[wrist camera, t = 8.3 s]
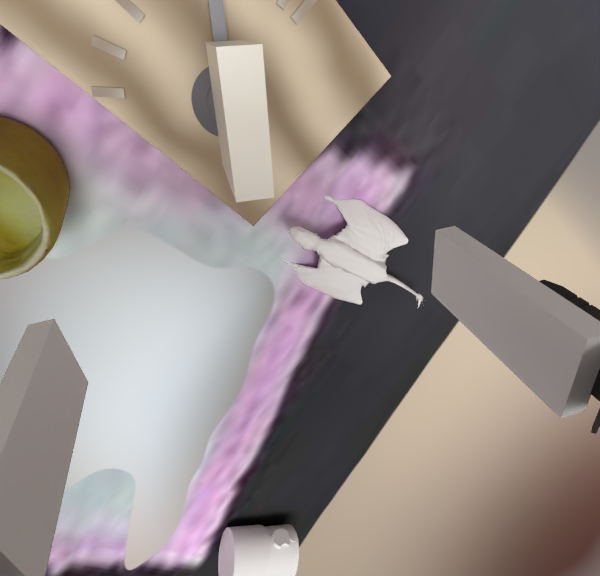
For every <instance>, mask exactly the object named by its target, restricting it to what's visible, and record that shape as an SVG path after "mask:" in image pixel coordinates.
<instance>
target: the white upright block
mask: <svg viewBox="0 0 600 576" xmlns="http://www.w3.org/2000/svg"><path fill="white" fill-rule="evenodd" d="M208 5H209V13H210V20H211V28H212V35H213V42H205V44H206V51H207V58H208V65H209V66H208V67H207V68H205V69H204V70H203V71H202V72H201V73H200V74H199V75H198V77H197V78H196V80H195V82H194V85H193V88H192V95H191V100H192V106H193V110H194V113H195V116H196V118H197V120H198V121H199V123H200V124H201V125H202V126H203V127H204V128H205V129H206V130H207V131H208V132H210V133H211V134H213V135H215V136H218V137H219V143H220V150H221V157H222V164H223V167H224V170H225V173H226V176H227V178H228V181H229V184H230V187H231V189H232V192H233V195H234V198H235V201H236V202H244V201H251V200H259V199H267V198H274V185H273V172H272V159H271V147H270V134H269V121H268V109H267V96H266V83H265V70H264V58H263V45H262V44H259V43H253V42H248V41H242V40H236V41H228V40H227V31H226V23H225V14H224V6H223V0H208Z"/></svg>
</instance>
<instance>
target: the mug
mask: <svg viewBox="0 0 600 576" xmlns="http://www.w3.org/2000/svg"><path fill="white" fill-rule="evenodd" d="M69 191H70V187H69V179H68V174H67V171H66V168H65V166H64V164H63V162H62V160H61V158H60V156H59V155H58V153H57V152H56V150H55V149H54V148H53V147H52V145H51V144H50V143H49V142H48V141H47V140H46V139H45V138H43V137H42V136H41V135H40V134H39V133H37V132H36V131H34V130H33V129H31V128H29V127H28V126H26V125H24V124H22V123H20V122H18V121H15V120H12V119H9V118H5V117H2V116H0V279H6V278H11V277H14V276H18V275H20V274H23V273H25V272H27V271H29V270H31V269H32V268H33V267H34V266H36V265H37V264H38V263H40V262H41V261H42V260H43V259H44V258H45V257H46V255H47V254H48V253H49V252H50V250H51V249H52V248H53V246H54V244H55V242H56V240H57V238H58V235H59V233H60V230H61V226H62V222H63V219H64V215H65V211H66V207H67V203H68V198H69Z"/></svg>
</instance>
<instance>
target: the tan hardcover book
mask: <svg viewBox="0 0 600 576" xmlns="http://www.w3.org/2000/svg"><path fill="white" fill-rule="evenodd" d="M223 6H224V14H225V23H226V31H227V40H228V41H236V40H242V41H248V42H253V43H259V44H262V45H263V58H264V70H265V83H266V96H267V109H268V121H269V134H270V147H271V159H272V172H273V185H274V198H267V199H259V200H251V201H244V202H236V201H235V198H234V195H233V192H232V189H231V187H230V184H229V181H228V178H227V176H226V173H225V170H224V167H223V164H222V157H221V150H220V143H219V137H218V136H215V135H213V134H211V133H210V132H208V131H207V130H206V129H205V128H204V127H203V126H202V125H201V124H200V123H199V121H198V120H197V118H196V116H195V113H194V110H193V106H192V100H191V95H192V88H193V85H194V82H195V80H196V78H197V77H198V75H199V74H200V73H201V72H202V71H203V70H204V69H205V68H207V67H208V66H209V65H208V58H207V51H206V44H205V42H213V35H212V28H211V20H210V13H209V5H208V0H0V24H1V25H2V26H4V27H5V28H6V29H7V30H9V31H10V32H11V33H12V34H14V35H15V36H16V37H17V38H19V39H20V40H21V41H22V42H24V43H25V44H26V45H27V46H29V47H30V48H31V49H32V50H34V51H35V52H36V53H37V54H39V55H40V56H41V57H42V58H44V59H45V60H46V61H47V62H49V63H50V64H51V65H52V66H54V67H55V68H56V69H57V70H59V71H60V72H61V73H62V74H64V75H65V76H66V77H67V78H69V79H70V80H71V81H72V82H74V83H75V84H76V85H77V86H79V87H80V88H81V89H82V90H84V91H85V92H86V93H87V94H89V95H90V96H91V97H92V98H94V99H95V100H96V101H98V102H99V103H100V104H101V105H103V106H104V107H105V108H106V109H108V110H109V111H110V112H111V113H113V114H114V115H115V116H116V117H118V118H119V119H120V120H121V121H123V122H124V123H125V124H126V125H128V126H129V127H130V128H131V129H133V130H134V131H135V132H136V133H138V134H139V135H140V136H141V137H143V138H144V139H145V140H146V141H148V142H149V143H150V144H151V145H153V146H154V147H155V148H156V149H158V150H159V151H160V152H161V153H163V154H164V155H165V156H166V157H168V158H169V159H170V160H171V161H173V162H174V163H175V164H176V165H178V166H179V167H180V168H181V169H183V170H184V171H185V172H186V173H188V174H189V175H190V176H191V177H193V178H194V179H195V180H196V181H198V182H199V183H200V184H202V185H203V186H204V187H205V188H207V189H208V190H209V191H210V192H212V193H213V194H214V195H215V196H217V197H218V198H219V199H220V200H222V201H223V202H224V203H225V204H227V205H228V206H229V207H230V208H232V209H233V210H234V211H235V212H237V213H238V214H239V215H240V216H242V217H243V218H244V219H245V220H247V221H248V222H249V223H250V224H252V225H253V226H254V225H255V224H256V223H257V222H258V221H259V220H260V218H261V217H262V216H263V215H264V214H265V213H266V212H267V211H268V210H269V209H270V208H271V206H272V205H273V204H274V203H275V202H276V201H277V200H278V199H279V198H280V197H281V196H282V194H283V193H284V192H285V191H286V190H287V189H288V188H289V187H290V186H291V185H292V184H293V183H294V181H295V180H296V179H297V178H298V177H299V176H300V175H301V174H302V173H303V172H304V171H305V169H306V168H307V167H308V166H309V165H310V164H311V163H312V162H313V161H314V160H315V159H316V157H317V156H318V155H319V154H320V153H321V152H322V151H323V150H324V149H325V148H326V147H327V145H328V144H329V143H330V142H331V141H332V140H333V139H334V138H335V137H336V136H337V135H338V134H339V132H340V131H341V130H342V129H343V128H344V127H345V126H346V125H347V124H348V123H349V122H350V120H351V119H352V118H353V117H354V116H355V115H356V114H357V113H358V112H359V111H360V110H361V108H362V107H363V106H364V105H365V104H366V103H367V102H368V101H369V100H370V99H371V98H372V96H373V95H374V94H375V93H376V92H377V91H378V90H379V89H380V88H381V87H382V86H383V84H384V83H385V82H386V81H387V80H388V79H389V78H390V77H391V75H390V74H389V73H388V71H387V70H386V68H385V67H384V66H383V64H382V63H381V62H380V60H379V59H378V58H377V56H376V55H375V53H374V52H373V51H372V49H371V48H370V47H369V45H368V44H367V42H366V41H365V40H364V38H363V37H362V36H361V34H360V33H359V32H358V30H357V29H356V27H355V26H354V25H353V23H352V22H351V21H350V19H349V18H348V16H347V15H346V14H345V12H344V11H343V10H342V8H341V7H340V6H339V4H338V3H337V1H336V0H223Z"/></svg>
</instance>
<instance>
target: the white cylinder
mask: <svg viewBox="0 0 600 576" xmlns="http://www.w3.org/2000/svg"><path fill="white" fill-rule="evenodd" d="M298 560H299V543H298V537H297V533H296V531H295V529H294V527H293V526H292V525H290V524H285V525H274V526H263V525H248V526H236V527H227V528H226V529H225V530H224V532H223V535H222V538H221V542H220V548H219V559H218V572H219V576H295V575H296V571H297V567H298Z"/></svg>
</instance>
